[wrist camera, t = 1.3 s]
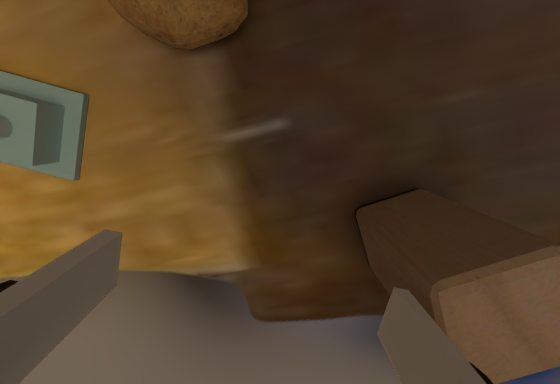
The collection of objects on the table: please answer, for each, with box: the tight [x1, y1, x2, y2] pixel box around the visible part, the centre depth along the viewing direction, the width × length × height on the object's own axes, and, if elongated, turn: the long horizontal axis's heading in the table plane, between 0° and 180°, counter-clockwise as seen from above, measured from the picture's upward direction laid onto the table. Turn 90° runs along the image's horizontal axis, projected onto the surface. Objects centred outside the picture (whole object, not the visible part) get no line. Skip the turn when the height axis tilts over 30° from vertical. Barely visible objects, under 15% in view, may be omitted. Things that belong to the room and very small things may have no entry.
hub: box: [0, 70, 89, 181], centre depth 30 cm, size 11×11×10 cm
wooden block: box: [356, 189, 560, 384], centre depth 29 cm, size 10×10×20 cm
